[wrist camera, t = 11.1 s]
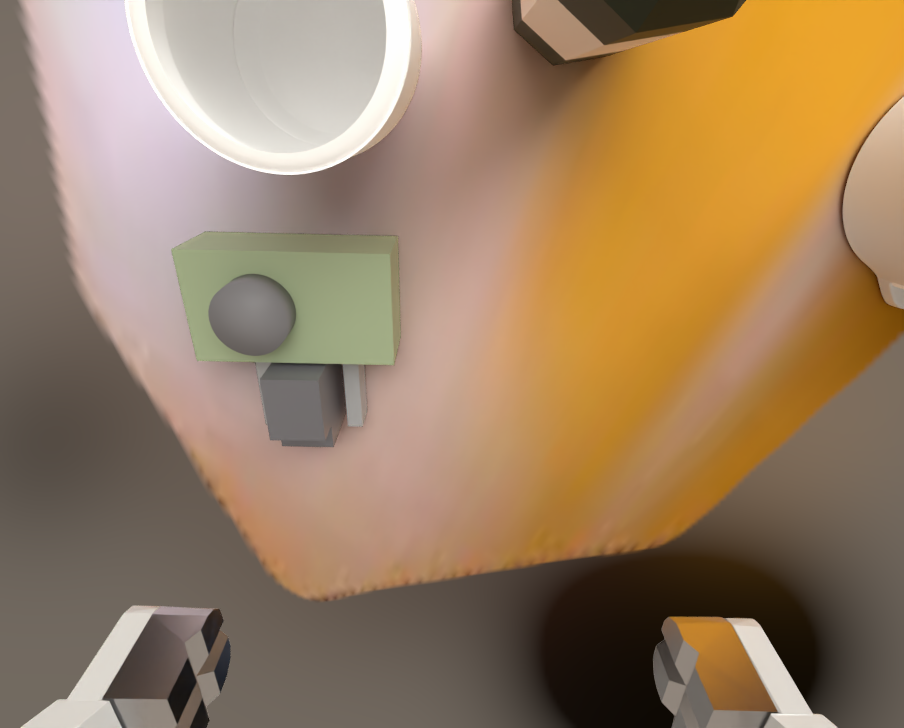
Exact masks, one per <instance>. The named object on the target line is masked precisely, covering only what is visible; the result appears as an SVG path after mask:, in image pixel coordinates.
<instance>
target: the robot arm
mask: <svg viewBox="0 0 904 728" xmlns="http://www.w3.org/2000/svg"><path fill="white" fill-rule="evenodd" d="M843 223H844V229H845V233H846V236H847V239H848V242H849V244H850V246H851V248H852V249H853V251H854V252H855V254H856V255H857V256H858V257H859V258H860V259H861V260H862V261H863V262H864V263H865V264H866V265H867V266H868V267H869V268H870V269H871V270H872V271H873V272H874V273H875V274H876V276H877V277H878V282H879V286H880V290H881V293H882V296H883V298H884V300H885V302H886V303H887V304H889V305H891V306H894V307H897V308H901V309H904V97H903V98H901V99H900V100H899V101H898V102H897V103H896V104H895V105H894V106H893V107H892V108H891V109H890V110H889V111H888V112H887V114H886V115H885V116H884V117H883V118H882V119H881V120H880V122H879V123H878V124H877V125H876V127H875V128H874V129H873V131H872V132H871V134H870V135H869V137H868V138H867V140H866V141H865V143H864V145H863V146H862V148H861V150H860V152H859V154H858V155H857V157H856V160H855V162H854V164H853V166H852V169H851V171H850V174H849V177H848V180H847V184H846V188H845V193H844V199H843ZM223 622H224V620H223V617H222V614H221V611H220V609H213V608H188V607H163V606H132V607H131V608H130V609H129V610H127V611H126V612H125V613H124V614H123V615H122V616H121V618H120V619H119V621H118V623H117V624H116V626H115V627H114V628H113V630H112V631H111V633H110V635H109V636H108V638H107V639H106V641H105V642H104V644H103V645H102V647H101V648H100V650H99V651H98V653H97V654H96V656H95V657H94V659H93V660H92V662H91V664H90V665H89V666H88V668H87V670H86V671H85V673H84V674H83V676H82V677H81V679H80V680H79V682H78V683H77V685H76V687H75V688H74V689H73V691H72V692H71V694H70V696H69V697H68V698H67V699H58V700H57V701H55V702H54V703H53V704H51V705H50V706H49V707H47V708H46V709H44V710H43V711H42V712H40V713H39V714H38V715H37V716H35V717H34V718H32V719H31V720H30V721H28V722H27V723H26V724H24V725H23V726H22V727H21V728H207V726H208V723H209V721H210V720H209V716H208V712H207V708H206V706H207V705H208V704H210V703H211V702H212V701H213V700H214V699H215V698H216V697H217V696H218V695H219V694H220V693H221V691H222V688H223V685H224V683H225V680H226V677H227V673H228V668H229V664H230V658H231V656H230V655H231V646H230V642H229V638H228V636H227V635H225V634H224V633H223V632H222V631H220V628H221V626H222V624H223ZM662 632H663V635H664V637H665V640H663V641H662V642H661V643H659V644H658V645H656V649H655V653H654V657H653V666H654V677H655V682H656V686H657V690H658V693H659V696H660V698H661V702H662V703H663V704H664V705H665V706H666V707H667V708H668V709H669V710H670V711H671V712H672V713H673V714H674V715H675V718H674V721H673V725H672V728H838V727H836V726H835V725H834V724H833V723H831V722H830V721H829V720H828V719H826V718H825V717H824V716H823V715H821V714H813V713H812V712H811V710H810V709H809V707H808V705H807V704H806V702H805V700H804V698H803V697H802V695H801V693H800V692H799V690H798V688H797V687H796V685H795V683H794V682H793V680H792V678H791V676H790V675H789V673H788V672H787V670H786V668H785V666H784V665H783V663H782V661H781V660H780V658H779V656H778V655H777V653H776V651H775V650H774V648H773V646H772V645H771V643H770V641H769V640H768V638H767V636H766V635H765V633H764V631H763V630H762V628H761V627H760V624H758V623H757V622H756V621H755V620H754V619H750V618H721V617H668V618H667V619H666V620H665V621H664V624H663V627H662Z"/></svg>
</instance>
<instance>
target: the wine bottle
mask: <svg viewBox="0 0 904 728" xmlns="http://www.w3.org/2000/svg"><path fill="white" fill-rule="evenodd" d="M745 1H746V0H512V10H513V22H514V30H515V31H516V32H517V33H518V34H519V35H520V36H522V37H523V38H524V39H525V40H526V41H527V42H528V43H529V44H530V45H531V46H532V47H534V48H535V49H536V50H537V51H538V52H539V53H540V54H541V55H542V56H543V57H544V58H546V59H547V60H548V61H549V62H550V63H551V64H552V65H558V64H564V63H570V62H576V61H582V60H588V59H594V58H600V57H605V56H608V55H611V54H614V53H618V52H621V51H624V50H627V49H630V48H634V47H637V46H640V45H643V44H646V43H650V42H653V41H656V40H659V39H662V38H666V37H669V36H672V35H675V34H678V33H681V32H685V31H688V30H691V29H694V28H697V27H701V26H704V25H707V24H710V23H713V22H717V21H720V20H723V19H726V18H729V17H733V15H734V14H735V13H736V12H737V11H738V9H739V8H740V7H741V6H742V5H743V3H744V2H745Z"/></svg>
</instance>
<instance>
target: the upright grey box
mask: <svg viewBox="0 0 904 728" xmlns="http://www.w3.org/2000/svg"><path fill="white" fill-rule="evenodd" d="M260 386H261V391H262V397H263V403H264V408H265V414H266V419H267V425H268V431H269V436H270V440H281V441H282V446H303V447H334V445H335V442H336V439H337V436H338V433H339V431H340V428H341V425H342V422H343V419H344V417H345V414H346V409H345V398H344V387H343V377H342V366H341V364H317V363H271V364H270V366H269V367H268V368H267V370H266V371H265V373H264V374H263V375H262V377H261V378H260Z"/></svg>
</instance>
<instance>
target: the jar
mask: <svg viewBox="0 0 904 728" xmlns="http://www.w3.org/2000/svg"><path fill="white" fill-rule="evenodd" d="M124 1H125V10H126V16H127V22H128V26H129V31H130V35H131V38H132V42H133V45H134V48H135V51H136V54H137V56H138V59H139V61H140V64H141V66H142V68H143V70H144V72H145V74H146V76H147V78H148V80H149V82H150V84H151V86H152V87H153V89H154V91H155V92H156V94H157V95H158V97H159V98H160V100H161V101H162V103H163V104H164V105H165V107H166V108H167V109H168V111H169V112H170V113H171V114H172V115H173V117H174V118H175V119H176V120H177V121H178V122H179V123H180V124H181V125H182V126H183V127H184V128H185V129H186V130H187V131H188V132H189V133H190V134H191V135H192V136H193V137H194V138H196V139H197V140H198V141H199V142H201V143H202V144H203V145H205V146H206V147H207V148H209V149H210V150H212V151H213V152H215V153H217V154H218V155H220V156H222V157H224V158H226V159H227V160H230V161H232V162H234V163H236V164H238V165H241V166H244V167H247V168H250V169H253V170H257V171H261V172H265V173H272V174H282V175H295V174H305V173H311V172H316V171H320V170H323V169H326V168H329V167H332V166H334V165H337V164H339V163H341V162H343V161H345V160H346V159H348V158H350V157H353V156H356V155H358V154H360V153H362V152H364V151H366V150H368V149H369V148H371V147H373V146H374V145H376V144H377V143H378V142H380V141H381V140H382V139H383V138H384V137H385V136H386V135H388V134H389V133H390V131H391V130H392V129H393V128H394V127H395V126H396V125H397V123H398V122H399V121H400V119H401V118H402V116H403V115H404V113H405V111H406V110H407V108H408V106H409V104H410V102H411V99H412V97H413V94H414V92H415V89H416V85H417V82H418V77H419V72H420V66H421V53H422V43H421V30H420V23H419V18H418V13H417V9H416V5H415V2H414V0H124Z"/></svg>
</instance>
